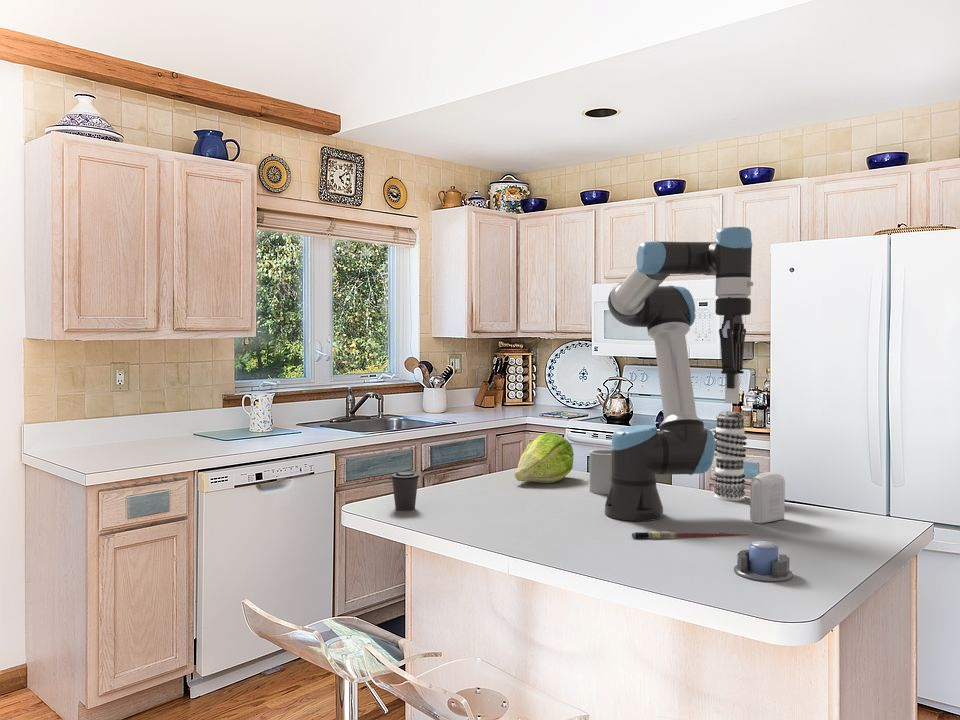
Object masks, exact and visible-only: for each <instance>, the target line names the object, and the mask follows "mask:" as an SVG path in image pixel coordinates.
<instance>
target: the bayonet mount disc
mask: <svg viewBox="0 0 960 720" xmlns="http://www.w3.org/2000/svg"><path fill="white" fill-rule="evenodd" d="M736 563H737V564H736V565H735V566H734V567H733V572H734V573H735V574H736V575H737V576H739V577H741V578H745V579H748V580H752V581H757V582H764V583H782V582H787V581H789V580H791V579H793V577H794V576H793V575H794V574H793V571H792V570H791V569H790V557H789V556H787V554H784V553H783V554H782V553H781V554H779V553H778V560H777V561H772V575H761V574H756V573H753V572H751V571H749V548H748V549H742V550H739V551H738V553H737V562H736Z"/></svg>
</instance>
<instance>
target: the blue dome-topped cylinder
mask: <svg viewBox="0 0 960 720" xmlns="http://www.w3.org/2000/svg"><path fill="white" fill-rule="evenodd" d="M748 549H749V571H751V572H753V573H756V574H761V575H772V561H777V560H779V546H778V545H777V544H775V543H774V542H771V541H766V540H765V541H764V540H756V541H753V542H751V543H749V544H748Z"/></svg>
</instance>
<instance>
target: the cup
mask: <svg viewBox="0 0 960 720" xmlns="http://www.w3.org/2000/svg"><path fill="white" fill-rule="evenodd" d="M611 484H612V450H611V449H593V450H590V451H589V492H590V493H591V494H595V493H596V495H604V494H609V491H610V488H611Z"/></svg>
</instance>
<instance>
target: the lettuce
mask: <svg viewBox="0 0 960 720" xmlns="http://www.w3.org/2000/svg"><path fill="white" fill-rule="evenodd" d="M574 454H575V453H574V448H573V446H572V444H571V443H570V441H569V440H568V439H566V438H565V437H564V436H561V435H560V434H557V433H555V432H551V431H549V432H546V433H542V434H540V435H538V436H537V437H535V438H534V439H533V440H531V441H530V442H529V443H528V444H527V445H526V448H525V449H524V451H523V453H522V454H521V456H520V459H519V461H518V465H517V468H516V470H515V472H514V477H515V480H517V482H534V483H538V484H540V483H544V484H553V483H557V481H558V482H560V480H562V479H564V478H565V477H566V476H568V474H569V473H571V471H572V470H573V466H574V465H573V464H574V456H575V455H574Z"/></svg>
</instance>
